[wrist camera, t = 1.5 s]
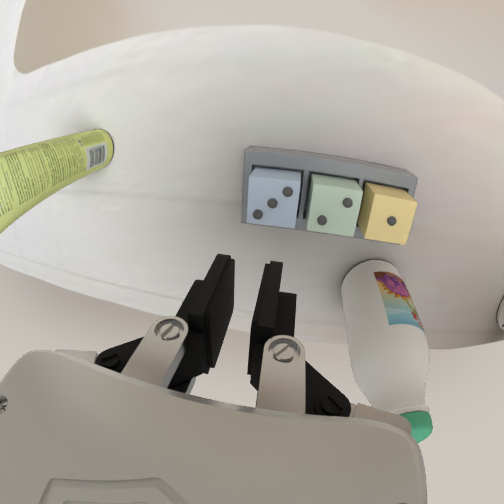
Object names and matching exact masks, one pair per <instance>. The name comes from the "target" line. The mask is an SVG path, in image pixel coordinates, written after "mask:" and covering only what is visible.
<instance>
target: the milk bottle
mask: <svg viewBox="0 0 504 504" xmlns="http://www.w3.org/2000/svg"><path fill="white" fill-rule="evenodd" d="M341 295H342V303H343V310H344V317H345V325H346V332H347V340H348V348H349V354H350V361H351V367H352V371H353V375H354V377H355V380H356V383H357V384H358V386H359V388H360V389H361V391H362V392H363V394H364V395H365V396H366V398H367V399H368V401H369V402H370V404H371V406H372V407H373V408H376V409H380V410H383V411H386V412H390V413H393V414H397V415H400V416H403V417H405V418H406V419H407V420H408V421H409V422H410V425H411V435H412V437H413V438H414V439H415V440H416V442H417V443H419V442H421V441H423V440H424V439H426V438H427V437H428V436H429V435H430V434H431V433H432V429H433V426H432V420H431V416H430V414H429V408H428V407H427V406H425V401H424V397H425V385H426V379H427V374H428V369H429V348H428V342H427V339H426V335H425V332H424V329H423V326H422V324H421V321H420V318H419V316H418V313H417V311H416V308H415V306H414V304H413V301H412V299H411V297H410V294H409V292H408V290H407V288H406V285H405V283H404V281H403V279H402V277H401V275H400V273H399V271H398V270H397V269H396V267H394V266H393V265H392V264H390V263H388V262H385V261H382V260H369V261H365V262H363V263H360V264H358V265H357V266H355V267H354V268H353V269H352V270H350V271H349V273H348V274H347V275H346V277H345V279H344V281H343V283H342V287H341Z"/></svg>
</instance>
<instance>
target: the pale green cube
mask: <svg viewBox="0 0 504 504" xmlns="http://www.w3.org/2000/svg"><path fill="white" fill-rule="evenodd" d="M362 195H363V191H362V189H361V188H360V186H359V185H358V183H357V182H356V181H355V180H352V179H346V178H340V177H333V176H327V175H320V174H313V173H312V175H311V183H310V190H309V198H308V205H307V212H306V224H307V230H308V231H315V232H322V233H330V234H337V235H344V236H351V237H353V236H354V232H355V228H356V223H357V219H358V214H359V210H360V205H361V200H362Z"/></svg>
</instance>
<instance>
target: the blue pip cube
mask: <svg viewBox="0 0 504 504" xmlns="http://www.w3.org/2000/svg"><path fill="white" fill-rule="evenodd" d="M300 183H301V172H298V171H290V170H281V169H272V168H262V167H255V169H254V170H253V171H252V173H251V174H250V176H249V186H248V205H247V223H252V224H260V225H269V226H277V227H285V228H293V229H295V223H296V215H297V208H298V200H299V192H300Z"/></svg>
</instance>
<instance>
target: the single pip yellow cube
mask: <svg viewBox="0 0 504 504" xmlns="http://www.w3.org/2000/svg"><path fill="white" fill-rule="evenodd" d="M417 203H418V202H417V201H416V200H415V199H413V198H412V197H411V196H410V195H409V194H408V193H407V192H406V191H405V190H403V189H398V188H393V187H389V186H384V185H379V184H374V183H368V182H365V187H364V192H363V197H362V202H361V207H360V212H359V216H358V221H357V223H358V225H359V227H360V229H361V232H362V234H363V236H364V239H371V240H377V241H384V242H390V243H396V244H402V245H405V244H406V241H407V238H408V235H409V232H410V228H411V225H412V221H413V218H414V214H415V211H416V207H417Z"/></svg>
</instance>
